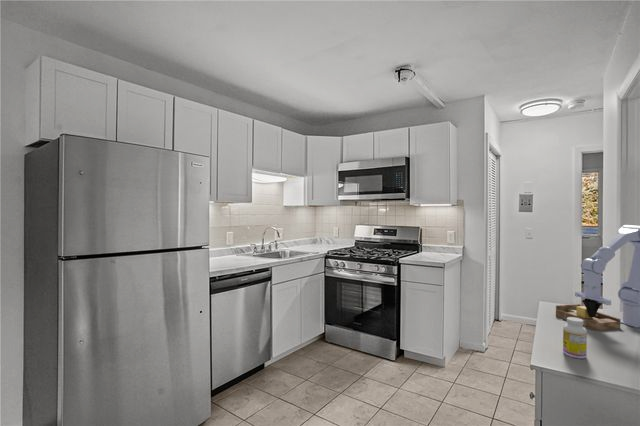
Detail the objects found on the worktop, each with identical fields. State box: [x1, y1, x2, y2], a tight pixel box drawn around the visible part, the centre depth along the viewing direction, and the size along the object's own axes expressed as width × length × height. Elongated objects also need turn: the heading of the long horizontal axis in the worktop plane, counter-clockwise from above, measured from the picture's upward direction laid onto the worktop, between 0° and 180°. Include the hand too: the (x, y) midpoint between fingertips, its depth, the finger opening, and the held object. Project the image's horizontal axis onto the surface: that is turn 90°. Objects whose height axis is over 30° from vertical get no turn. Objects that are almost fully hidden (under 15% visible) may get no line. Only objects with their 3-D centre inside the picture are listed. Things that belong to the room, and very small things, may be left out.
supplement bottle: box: [562, 317, 588, 360], centre depth 117 cm, size 7×7×13 cm
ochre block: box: [576, 305, 592, 318], centre depth 149 cm, size 4×4×4 cm
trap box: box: [555, 303, 621, 331], centre depth 151 cm, size 13×19×5 cm
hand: (591, 316), depth 146 cm, fingers closed
